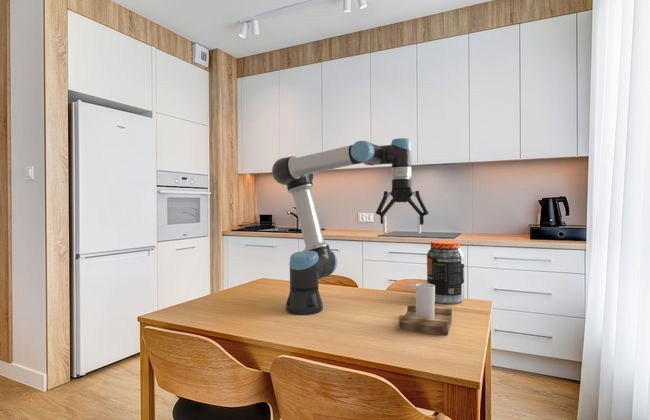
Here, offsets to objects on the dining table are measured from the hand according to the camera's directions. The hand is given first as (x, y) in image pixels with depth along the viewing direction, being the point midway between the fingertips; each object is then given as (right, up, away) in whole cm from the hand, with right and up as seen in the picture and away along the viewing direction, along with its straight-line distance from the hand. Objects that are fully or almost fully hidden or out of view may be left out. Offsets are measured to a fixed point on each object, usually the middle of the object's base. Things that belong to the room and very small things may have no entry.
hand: (401, 232), depth 149 cm
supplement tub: (+23, -31, +19) cm, 43 cm away
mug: (+6, -30, -14) cm, 33 cm away
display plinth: (+6, -32, -13) cm, 35 cm away
